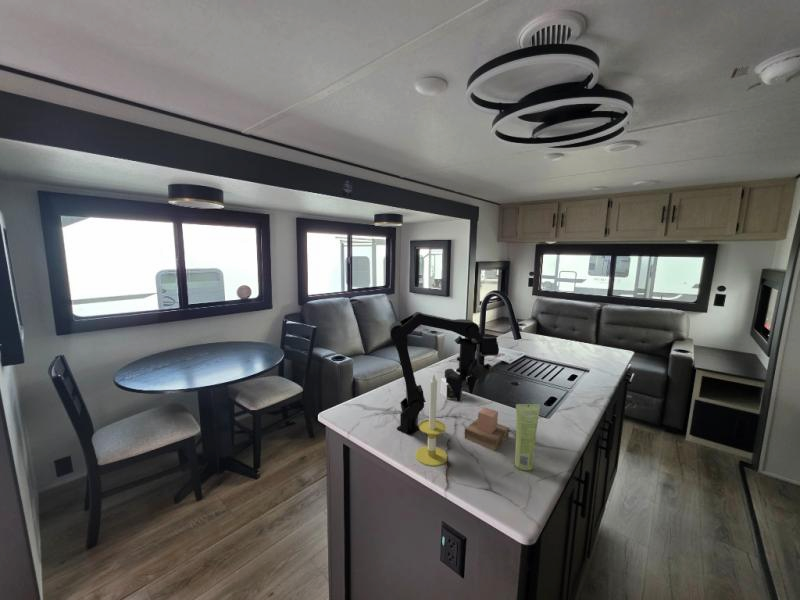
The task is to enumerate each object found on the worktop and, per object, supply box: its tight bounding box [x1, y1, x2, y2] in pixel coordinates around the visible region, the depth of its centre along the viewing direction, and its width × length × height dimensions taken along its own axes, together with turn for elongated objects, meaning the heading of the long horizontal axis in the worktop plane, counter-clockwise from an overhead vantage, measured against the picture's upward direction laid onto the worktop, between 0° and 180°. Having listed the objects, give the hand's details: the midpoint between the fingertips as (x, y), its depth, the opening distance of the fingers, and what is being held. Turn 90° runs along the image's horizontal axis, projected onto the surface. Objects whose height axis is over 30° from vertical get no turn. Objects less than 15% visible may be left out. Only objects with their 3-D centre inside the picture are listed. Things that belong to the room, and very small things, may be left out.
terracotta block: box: [477, 407, 499, 434], centre depth 109 cm, size 5×5×6 cm
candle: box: [415, 374, 448, 467], centre depth 98 cm, size 10×10×27 cm
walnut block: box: [464, 418, 510, 452], centre depth 110 cm, size 11×11×4 cm
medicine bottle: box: [440, 368, 459, 400], centre depth 143 cm, size 7×7×12 cm
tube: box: [514, 403, 541, 472], centre depth 94 cm, size 6×5×20 cm
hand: (465, 397), depth 115 cm, fingers open, 9 cm apart
